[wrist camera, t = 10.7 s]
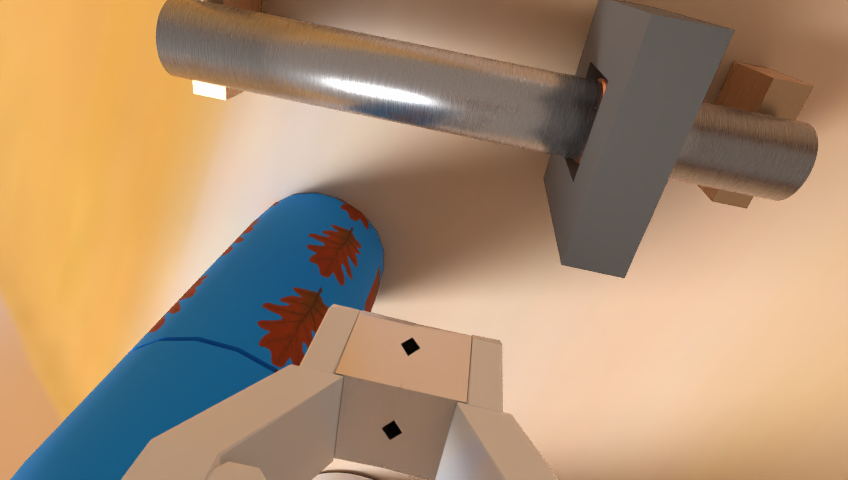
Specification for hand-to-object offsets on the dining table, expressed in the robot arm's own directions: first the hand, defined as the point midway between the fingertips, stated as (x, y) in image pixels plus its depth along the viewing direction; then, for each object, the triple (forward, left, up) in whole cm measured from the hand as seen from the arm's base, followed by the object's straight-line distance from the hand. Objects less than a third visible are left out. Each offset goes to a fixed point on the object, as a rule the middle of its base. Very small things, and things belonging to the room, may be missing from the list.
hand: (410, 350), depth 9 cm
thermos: (-16, +9, -27) cm, 33 cm away
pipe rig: (0, 0, -27) cm, 27 cm away
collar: (0, -7, -25) cm, 26 cm away
